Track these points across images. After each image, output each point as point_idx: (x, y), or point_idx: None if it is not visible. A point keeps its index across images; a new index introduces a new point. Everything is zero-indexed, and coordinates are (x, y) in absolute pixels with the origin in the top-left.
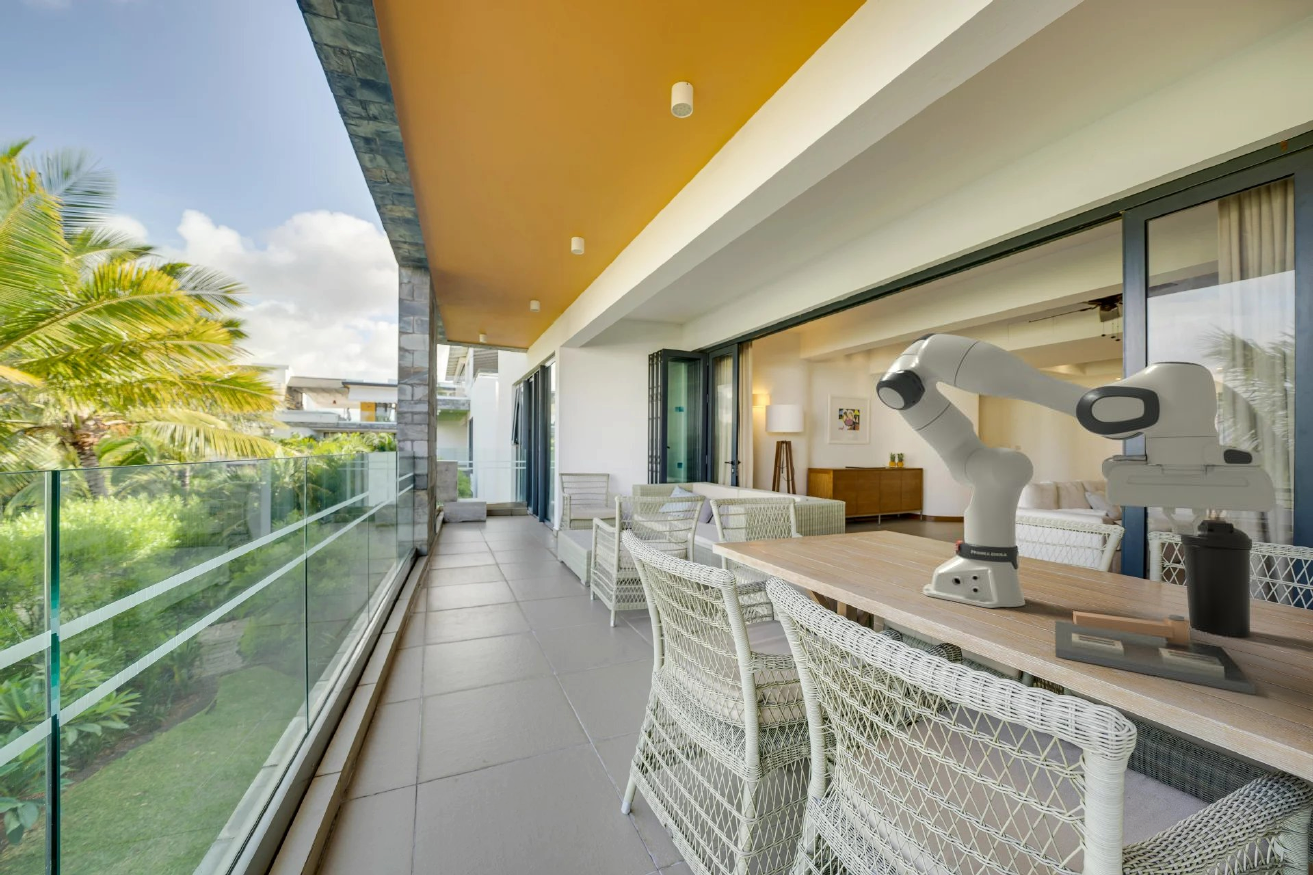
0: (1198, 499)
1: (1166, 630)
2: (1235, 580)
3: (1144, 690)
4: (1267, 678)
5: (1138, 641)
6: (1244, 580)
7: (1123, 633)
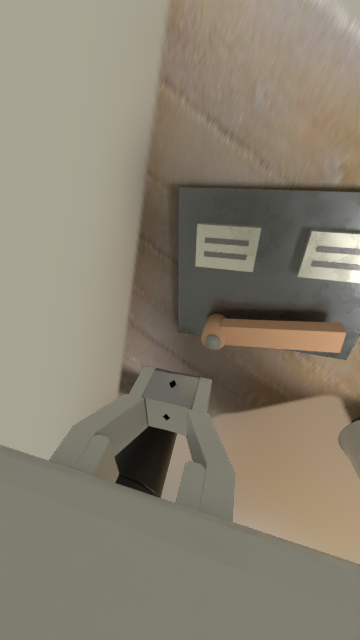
0: (13, 549)
1: (228, 323)
2: None
3: (333, 75)
4: (158, 267)
5: (260, 311)
6: None
7: None
